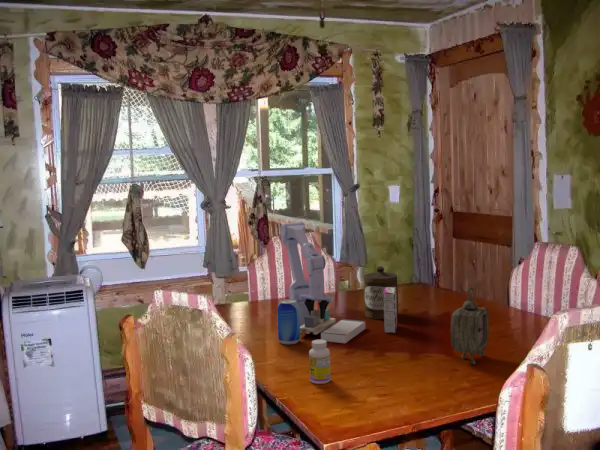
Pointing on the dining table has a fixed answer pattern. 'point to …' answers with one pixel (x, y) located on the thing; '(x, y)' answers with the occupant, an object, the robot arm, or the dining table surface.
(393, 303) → the candy bar box
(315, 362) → the supplement bottle
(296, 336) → the beer can
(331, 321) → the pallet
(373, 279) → the wooden container
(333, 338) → the dock
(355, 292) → the dining table surface
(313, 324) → the grey cube
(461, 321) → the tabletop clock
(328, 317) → the block
